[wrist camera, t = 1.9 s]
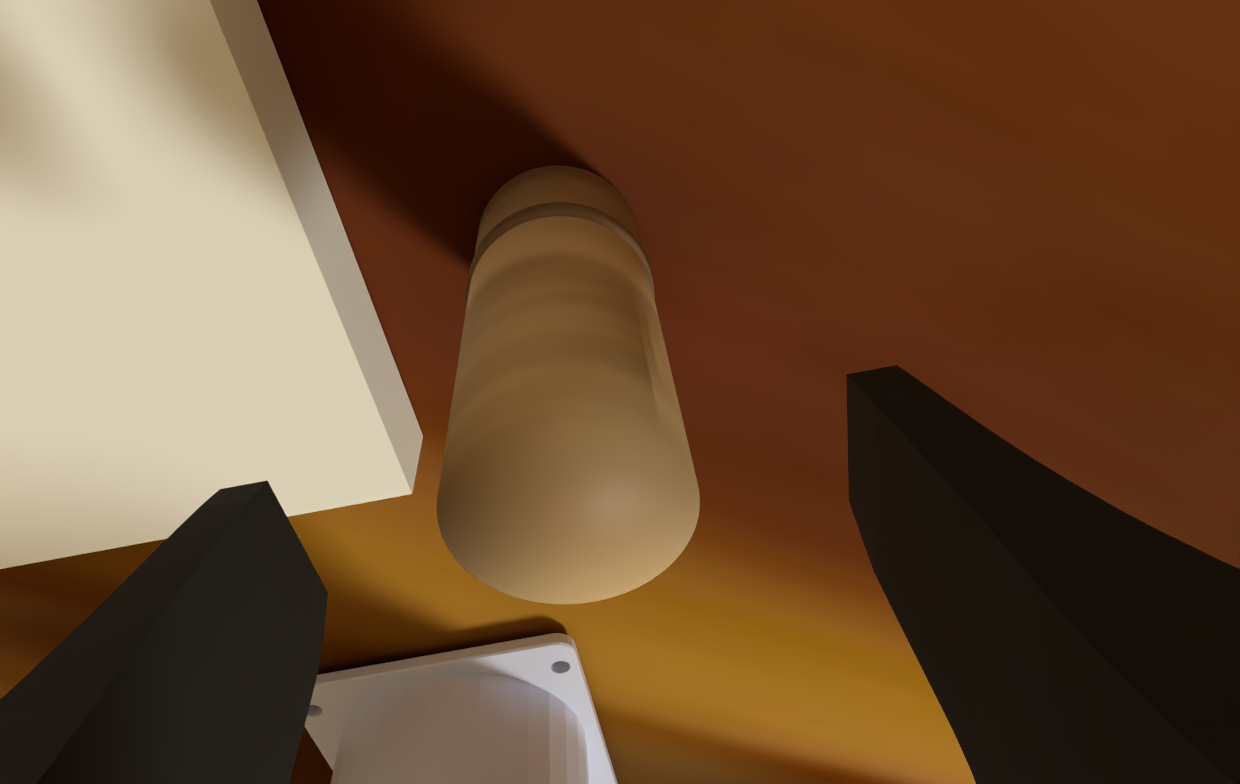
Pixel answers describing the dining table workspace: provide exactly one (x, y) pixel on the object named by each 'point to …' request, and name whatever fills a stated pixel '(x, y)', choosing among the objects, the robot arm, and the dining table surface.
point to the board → (173, 284)
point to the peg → (564, 402)
